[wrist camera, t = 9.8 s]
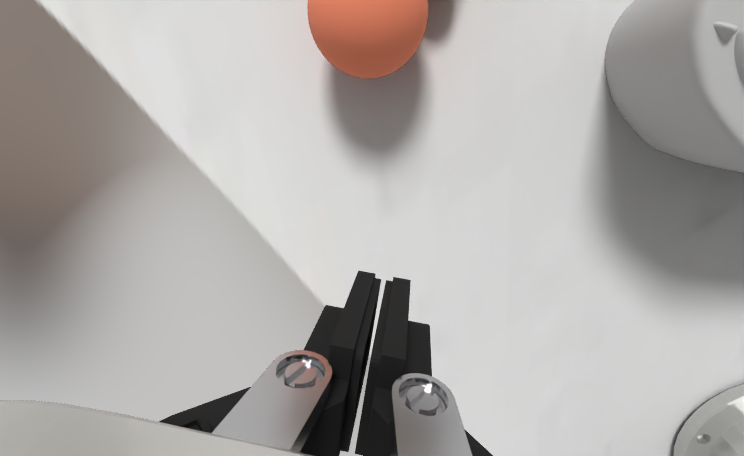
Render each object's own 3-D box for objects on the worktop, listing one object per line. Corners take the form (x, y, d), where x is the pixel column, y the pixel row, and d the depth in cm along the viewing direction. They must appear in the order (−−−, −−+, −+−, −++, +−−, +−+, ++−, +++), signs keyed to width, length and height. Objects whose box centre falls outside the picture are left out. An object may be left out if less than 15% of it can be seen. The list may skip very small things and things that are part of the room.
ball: (431, -104, 16) (467, 41, 19) (356, -51, 21) (394, 58, 23) (322, -63, 14) (382, 94, 17) (266, -14, 18) (321, 101, 21)
